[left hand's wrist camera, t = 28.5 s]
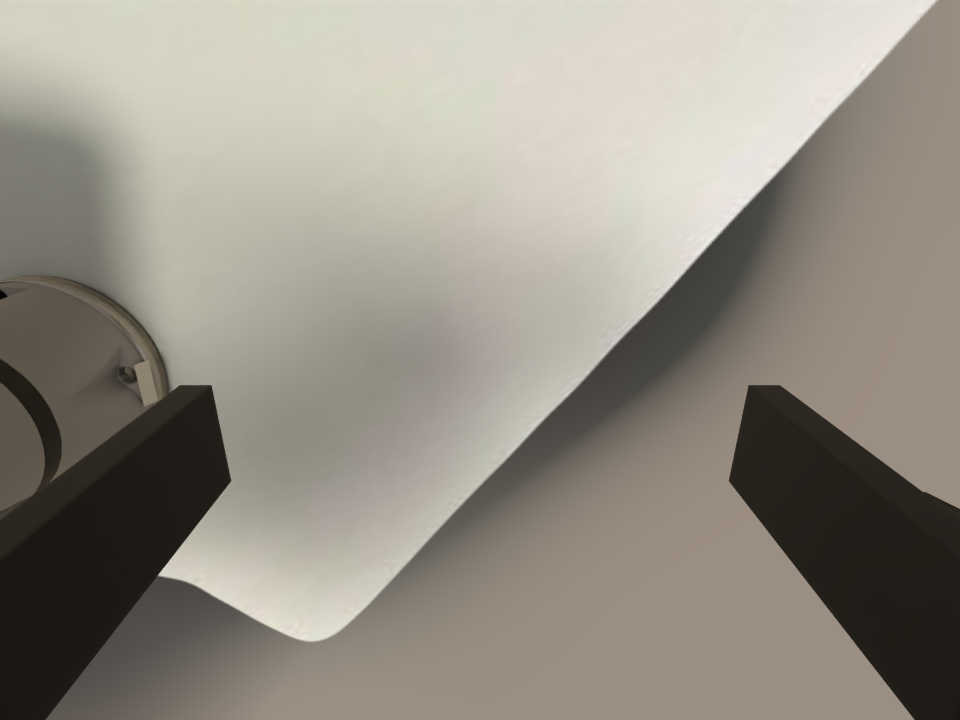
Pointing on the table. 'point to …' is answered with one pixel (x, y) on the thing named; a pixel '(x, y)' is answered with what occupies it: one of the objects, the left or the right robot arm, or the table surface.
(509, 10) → the table surface
